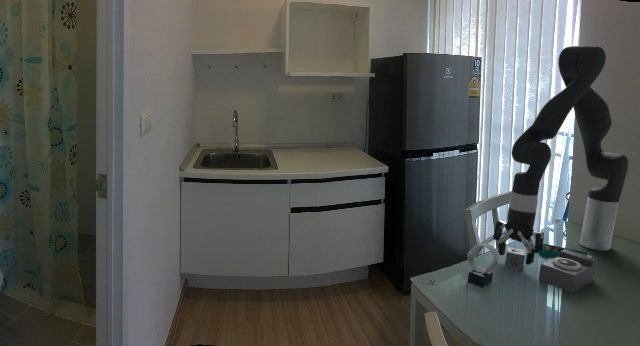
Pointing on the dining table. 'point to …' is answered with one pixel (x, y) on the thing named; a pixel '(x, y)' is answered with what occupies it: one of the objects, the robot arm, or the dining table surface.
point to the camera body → (568, 271)
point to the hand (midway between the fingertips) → (514, 259)
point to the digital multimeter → (557, 251)
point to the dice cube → (515, 258)
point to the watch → (479, 274)
